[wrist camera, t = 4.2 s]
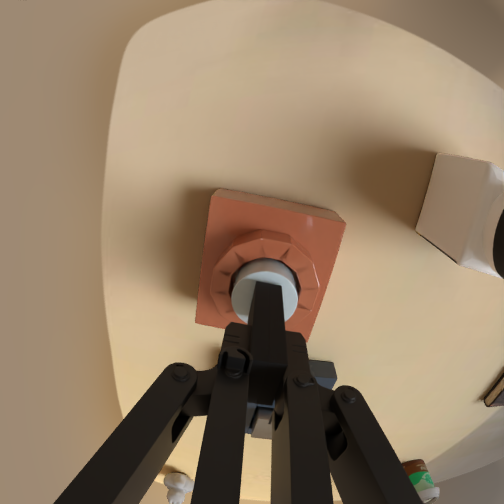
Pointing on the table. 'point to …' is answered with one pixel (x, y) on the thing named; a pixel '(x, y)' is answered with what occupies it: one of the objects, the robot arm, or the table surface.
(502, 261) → the medicine bottle
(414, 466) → the food container
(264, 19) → the table surface
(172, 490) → the white lumpy figurine
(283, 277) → the white round push button
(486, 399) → the hardcover book
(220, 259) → the orange button base
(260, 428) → the pump square
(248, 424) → the push button base
